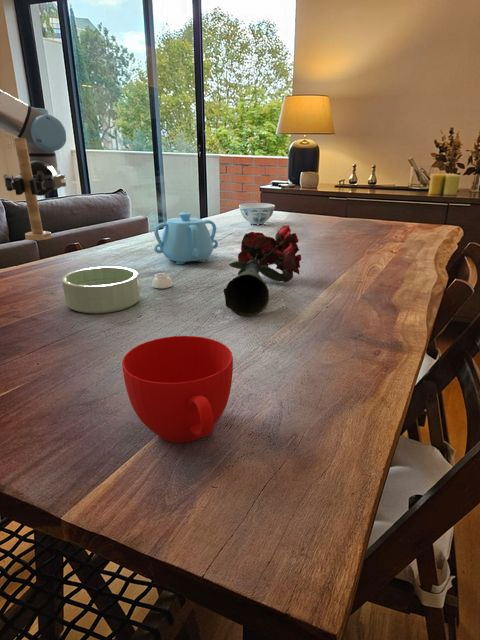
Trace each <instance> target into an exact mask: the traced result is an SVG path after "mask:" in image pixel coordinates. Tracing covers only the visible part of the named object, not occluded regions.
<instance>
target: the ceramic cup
mask: <svg viewBox="0 0 480 640" xmlns="http://www.w3.org/2000/svg"><path fill="white" fill-rule="evenodd" d="M121 369H122V374H123V375H122V376H123V381H124V384H125V389H126V393H127V396H128V399H129V402H130V405H131V407H132V409H133V411H134V412H135V414H136V416H137V417H138V419H139V421H141V423H142V424H143V425H144V426H145V427H147V428H148V429H149V430H150V431H151V432H153V433H154V434H156V435H157V436H158V437H160V438H161V439H162V440H164V441H168V442H171V443H178V444H179V443H181V444H182V443H188V442H189V443H190V442H193V441H196V440H198V439H200V438H204V437H206V436H209V435H211V434H212V432H213V430H214V426H215V424H216V423H217V422H218V421H219V419H220V418H221V416H222V415H223V413H224V411H225V409H226V407H227V405H228V401H229V399H230V395H231V394H230V393H231V389H232V384H233V372H234V357H233V352H232V351H231V349H230V348H229V347H228V346H227V345H226V344H224V343H222V342H220V341H218V340H215V339H213V338H208V337H204V336H195V335H173V336H165V337H160V338H156V339H155V338H154V339H151V340H148V341H145V342H142V343H141V344H138V345H136V346H135V347H133V348H131V349H130V350H129V351H127V353H126V354H125V355H124V357H123V358H122V361H121Z"/></svg>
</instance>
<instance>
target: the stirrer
mask: <svg viewBox="0 0 480 640" xmlns="http://www.w3.org/2000/svg"><path fill="white" fill-rule="evenodd" d="M13 141H14V146H15V152H16V156H17V161H18V167H19V174H20V173H21V178H22V183H23V188H24V193H23V194H24V198H25V203H26V208H27V213H28V219H29V223H30V230H31V231H28V232H25V233H24V237H25V240H27V241H28V240H29V241H42V240H48V239H51V238H52V232H51V231H48V230H43V224H42V219H41V218H42V217H41V213H40V207H39V202H38V196H37V195H32V192H31V187H30V181H29V180H31V179H33V174H32V169H31V164H30V158H29V153H28V147H27V142H26V138H18V137H14V138H13Z"/></svg>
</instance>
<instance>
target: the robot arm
mask: <svg viewBox="0 0 480 640" xmlns="http://www.w3.org/2000/svg"><path fill="white" fill-rule="evenodd" d="M0 130H2V131H4V132H6V133H8V134H10V135H13V136H14V137H15V138H26V142H27V147H28V153H29V158H30V164H31V169H32V174H33V179H31V180H29V181H30V187H31V192H32V195H36V196H37V197H38V196H40V197H42V196H46V195H48V194H50V193H51V192H53V191H56V190H58V189H60V188H64V187H67V182H66V175H65V174H62V173H61V171H60V169H59V166H58V159H57V155H56V151H59V150H61V149H62V148H64V146H65V145H66V144H67V139H68V133H67V129H66V127H65V125H64V124H63V122H62V121H61V120H60V119H59V118H57V117H56V116H54V115H51V114H50V113H49V110H48V109H46V108H43V107H42V108H41V107H33V106H30V105H29V104H27V103H26V102H24V101H22V100H20V99H19V98H16V97H15V96H13V95H11V94H9V93H7V92H6V91H3V90H2V89H0ZM2 177H3V181H4V187H5V188H6V191H8V192H12V191H15V195H16V196H21V195H23V194H25V193H24V188H23V183H22V178H21V173H20V172H19V174H18V175H15V177H14V175H12V174H11V175H10V174H3V176H2Z"/></svg>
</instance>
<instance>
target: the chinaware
mask: <svg viewBox="0 0 480 640" xmlns="http://www.w3.org/2000/svg"><path fill="white" fill-rule="evenodd" d="M238 206H239V211H240V213H241V216H242V217H243V219H245V221H247V222H248V224H249V225H250V224H264V223H265V224H266V222H267V221H268V220H270V219H271V217H272V216H273V213H274V211H275V207H276V205H275V204H272V203H267V202H245V203H240V204H239V205H238ZM265 224H264V225H265Z"/></svg>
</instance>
